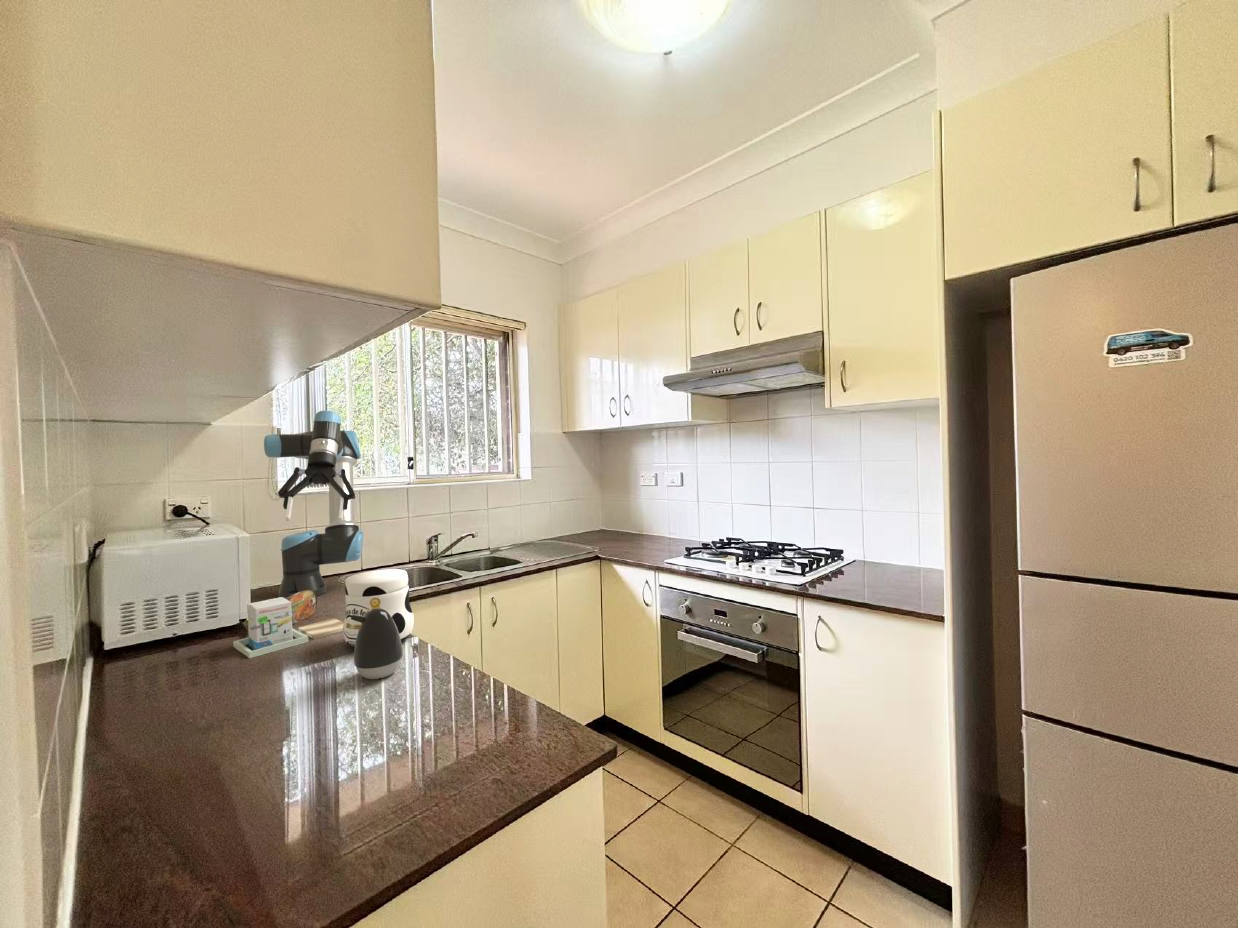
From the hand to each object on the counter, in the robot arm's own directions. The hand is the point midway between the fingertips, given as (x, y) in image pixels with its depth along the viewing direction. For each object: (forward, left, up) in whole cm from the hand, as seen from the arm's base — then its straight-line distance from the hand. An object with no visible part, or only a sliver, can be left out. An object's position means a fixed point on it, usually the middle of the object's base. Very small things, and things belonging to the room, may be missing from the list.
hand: (314, 519), depth 152 cm
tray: (+3, -14, -32) cm, 35 cm away
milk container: (+27, +5, -32) cm, 43 cm away
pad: (+3, 0, -32) cm, 32 cm away
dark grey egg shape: (+48, -6, -32) cm, 59 cm away
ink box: (+3, -14, -33) cm, 35 cm away
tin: (-15, -1, -33) cm, 36 cm away
